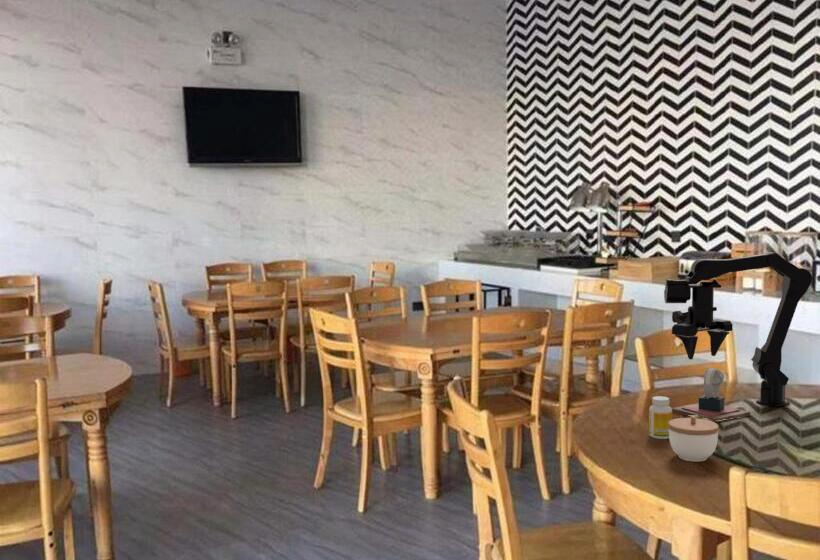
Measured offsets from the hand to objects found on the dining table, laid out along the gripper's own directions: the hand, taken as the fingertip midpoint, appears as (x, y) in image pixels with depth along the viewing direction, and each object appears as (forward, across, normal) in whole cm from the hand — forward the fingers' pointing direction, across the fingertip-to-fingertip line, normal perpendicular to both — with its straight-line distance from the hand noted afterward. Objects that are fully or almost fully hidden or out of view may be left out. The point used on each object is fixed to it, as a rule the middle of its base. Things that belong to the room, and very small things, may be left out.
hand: (702, 357), depth 226 cm
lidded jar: (+13, +41, +34) cm, 55 cm away
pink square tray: (+13, +8, +10) cm, 18 cm away
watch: (+12, +8, +10) cm, 17 cm away
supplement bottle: (+13, +35, +18) cm, 42 cm away
